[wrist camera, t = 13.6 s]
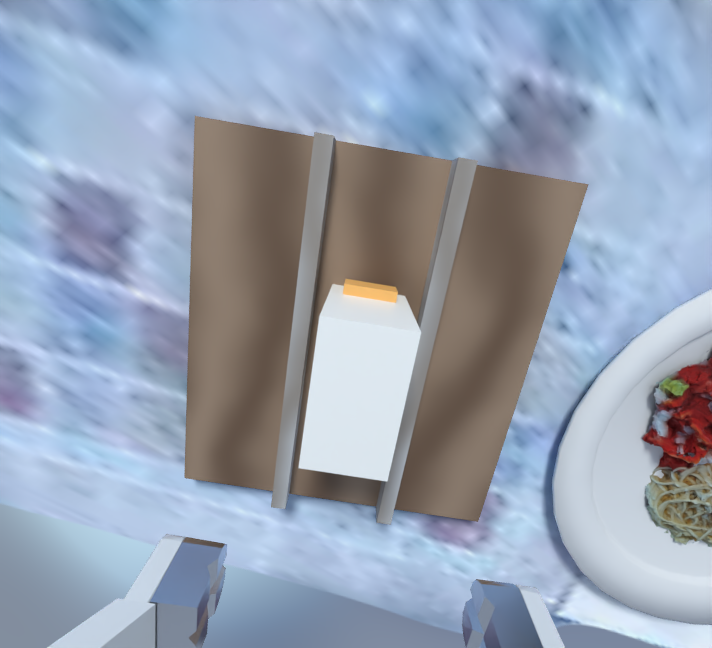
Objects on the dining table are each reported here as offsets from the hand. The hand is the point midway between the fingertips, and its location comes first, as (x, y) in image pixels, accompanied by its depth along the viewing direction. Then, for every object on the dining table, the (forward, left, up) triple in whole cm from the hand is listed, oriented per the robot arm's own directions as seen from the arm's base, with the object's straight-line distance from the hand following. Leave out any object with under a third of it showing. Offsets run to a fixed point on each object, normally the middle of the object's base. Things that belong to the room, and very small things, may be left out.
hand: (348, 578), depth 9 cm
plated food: (+30, -4, -18) cm, 35 cm away
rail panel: (0, 0, -17) cm, 17 cm away
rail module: (0, 0, -15) cm, 16 cm away
